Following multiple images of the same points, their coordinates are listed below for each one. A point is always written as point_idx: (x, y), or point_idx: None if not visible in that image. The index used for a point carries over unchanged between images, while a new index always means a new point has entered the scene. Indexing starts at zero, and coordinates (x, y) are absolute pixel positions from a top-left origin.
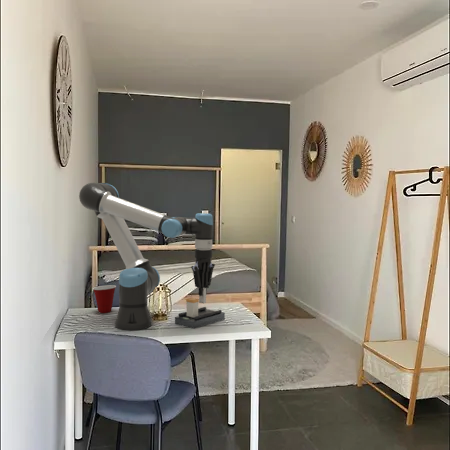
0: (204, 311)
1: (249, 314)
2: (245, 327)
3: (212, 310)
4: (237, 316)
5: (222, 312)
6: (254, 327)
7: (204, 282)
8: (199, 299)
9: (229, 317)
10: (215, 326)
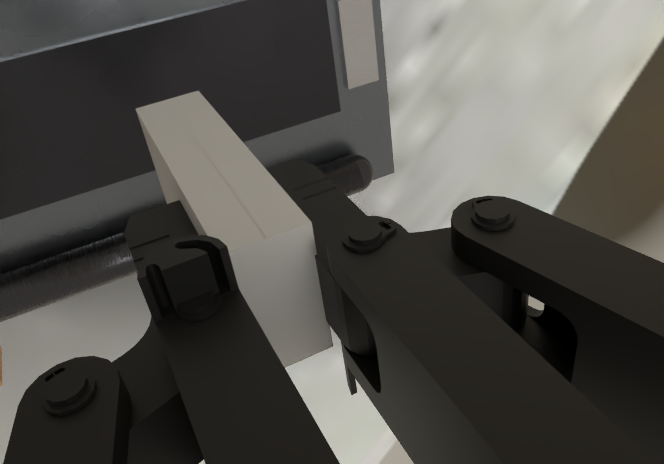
0: (237, 4)
1: (610, 110)
2: (315, 411)
3: (354, 22)
4: (508, 113)
5: (383, 154)
6: (360, 425)
7: (393, 401)
8: (150, 139)
9: (439, 104)
10: (128, 321)
